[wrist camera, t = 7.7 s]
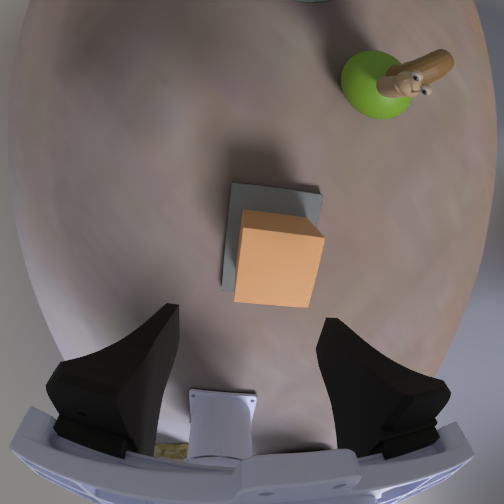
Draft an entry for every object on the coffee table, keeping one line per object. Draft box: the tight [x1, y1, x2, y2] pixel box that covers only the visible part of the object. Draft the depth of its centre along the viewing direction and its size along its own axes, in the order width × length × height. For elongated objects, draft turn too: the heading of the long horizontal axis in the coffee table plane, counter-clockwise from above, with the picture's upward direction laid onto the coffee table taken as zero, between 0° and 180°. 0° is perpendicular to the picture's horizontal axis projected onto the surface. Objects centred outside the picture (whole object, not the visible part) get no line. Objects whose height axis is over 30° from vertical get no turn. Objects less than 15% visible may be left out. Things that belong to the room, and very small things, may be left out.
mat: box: [221, 182, 323, 292], centre depth 22 cm, size 9×7×1 cm
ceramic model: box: [154, 443, 188, 462], centre depth 32 cm, size 14×11×10 cm
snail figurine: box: [341, 49, 454, 119], centre depth 12 cm, size 5×6×12 cm
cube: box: [234, 209, 325, 308], centre depth 19 cm, size 5×5×5 cm
